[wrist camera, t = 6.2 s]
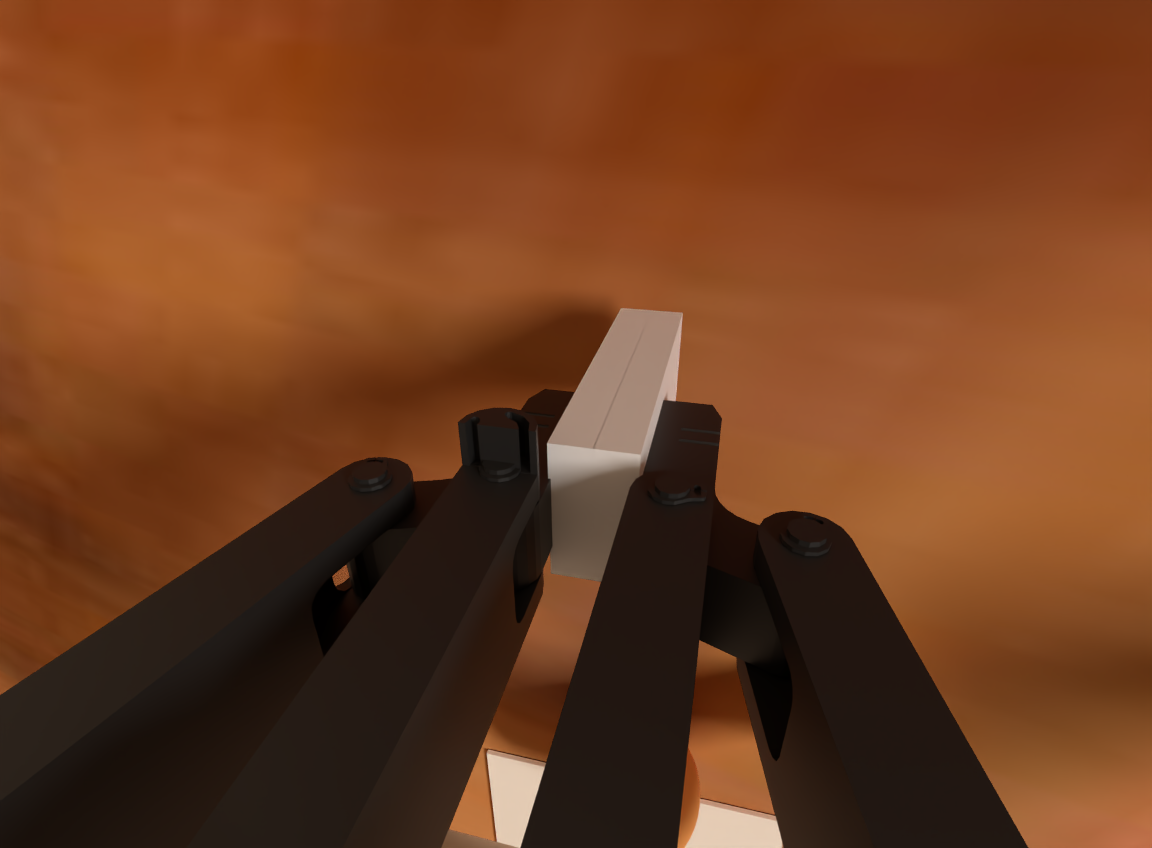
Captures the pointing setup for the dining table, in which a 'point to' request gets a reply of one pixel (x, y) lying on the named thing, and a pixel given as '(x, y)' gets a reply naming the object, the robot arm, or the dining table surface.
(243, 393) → the dining table surface
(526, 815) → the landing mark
